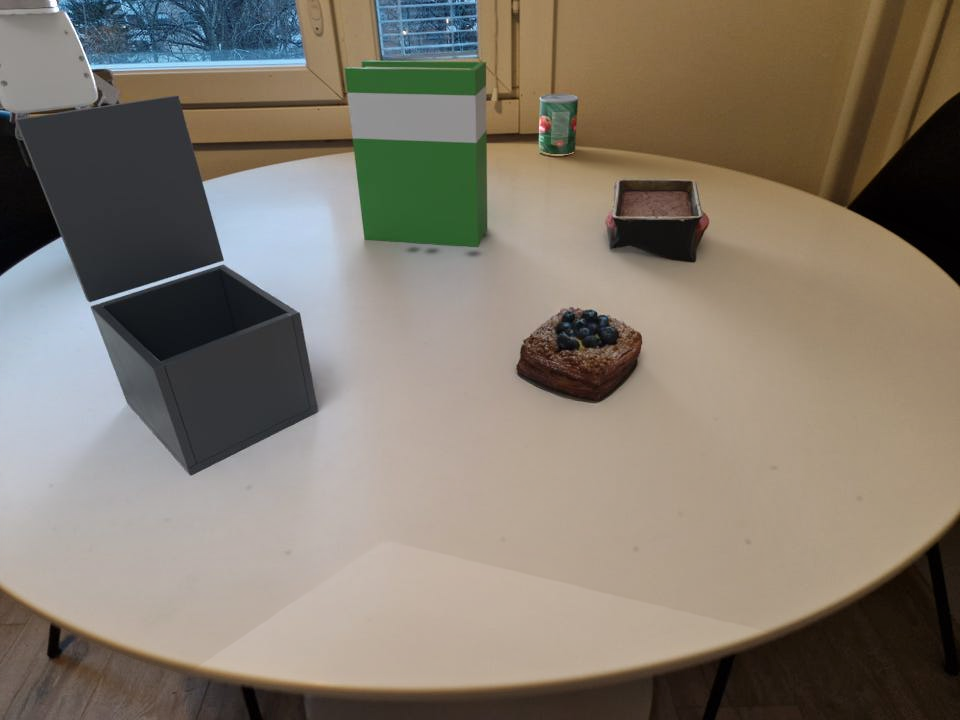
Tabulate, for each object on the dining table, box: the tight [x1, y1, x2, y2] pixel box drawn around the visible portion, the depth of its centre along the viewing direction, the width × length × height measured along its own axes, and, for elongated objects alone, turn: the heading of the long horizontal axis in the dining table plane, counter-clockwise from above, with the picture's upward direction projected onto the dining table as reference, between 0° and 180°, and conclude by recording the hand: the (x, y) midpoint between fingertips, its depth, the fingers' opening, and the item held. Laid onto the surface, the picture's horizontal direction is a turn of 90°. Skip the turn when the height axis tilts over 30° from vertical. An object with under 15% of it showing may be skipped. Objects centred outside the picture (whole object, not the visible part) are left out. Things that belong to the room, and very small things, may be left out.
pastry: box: [515, 306, 643, 404], centre depth 66 cm, size 11×12×6 cm
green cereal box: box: [343, 59, 488, 248], centre depth 94 cm, size 18×7×24 cm, turn 79°
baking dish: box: [604, 177, 710, 263], centre depth 94 cm, size 14×18×10 cm
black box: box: [90, 263, 319, 476], centre depth 60 cm, size 15×13×11 cm
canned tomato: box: [538, 93, 579, 154], centre depth 136 cm, size 8×8×11 cm
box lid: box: [15, 95, 225, 303], centre depth 59 cm, size 15×13×6 cm
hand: (70, 164), depth 79 cm, fingers closed on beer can, 6 cm apart
